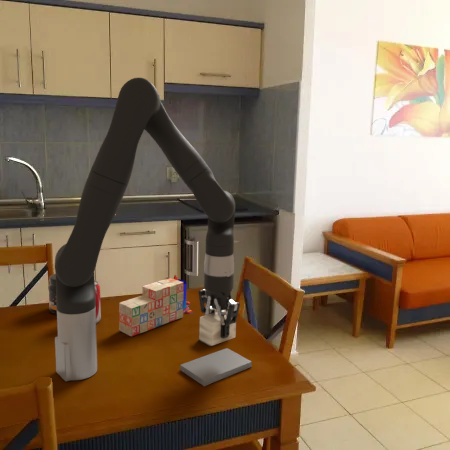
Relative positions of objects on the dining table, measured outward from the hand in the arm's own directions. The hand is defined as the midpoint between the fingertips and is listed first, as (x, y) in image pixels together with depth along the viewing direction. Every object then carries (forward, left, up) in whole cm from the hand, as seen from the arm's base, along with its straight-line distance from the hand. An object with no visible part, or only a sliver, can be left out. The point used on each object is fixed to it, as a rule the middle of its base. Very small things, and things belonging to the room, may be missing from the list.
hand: (217, 333), depth 123 cm
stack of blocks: (+2, +34, -10) cm, 36 cm away
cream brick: (0, 0, -1) cm, 1 cm away
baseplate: (0, 0, -10) cm, 10 cm away
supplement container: (-15, +62, -10) cm, 65 cm away
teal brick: (+11, +14, -10) cm, 20 cm away
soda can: (-13, +48, -10) cm, 51 cm away
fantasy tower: (+16, +41, -10) cm, 45 cm away
